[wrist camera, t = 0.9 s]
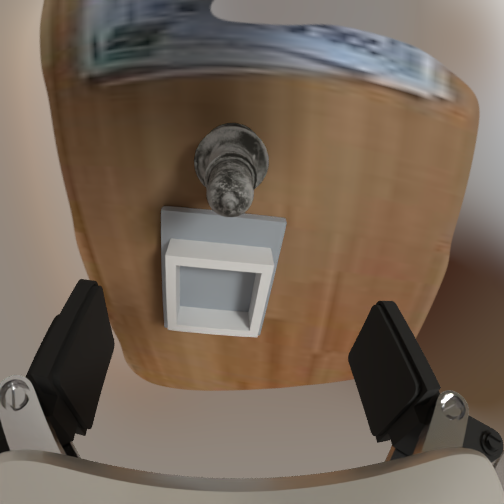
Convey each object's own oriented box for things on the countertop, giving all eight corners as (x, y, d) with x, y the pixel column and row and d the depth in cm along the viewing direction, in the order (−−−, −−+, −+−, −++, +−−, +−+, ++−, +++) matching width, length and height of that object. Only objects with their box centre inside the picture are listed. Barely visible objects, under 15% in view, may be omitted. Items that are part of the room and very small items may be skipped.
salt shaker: (196, 179, 28) (174, 249, 18) (201, 116, 25) (177, 150, 14) (259, 185, 28) (274, 257, 18) (269, 123, 25) (293, 162, 15)
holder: (163, 205, 29) (154, 225, 26) (285, 218, 30) (291, 238, 27) (165, 321, 37) (160, 345, 34) (259, 329, 39) (261, 353, 36)
